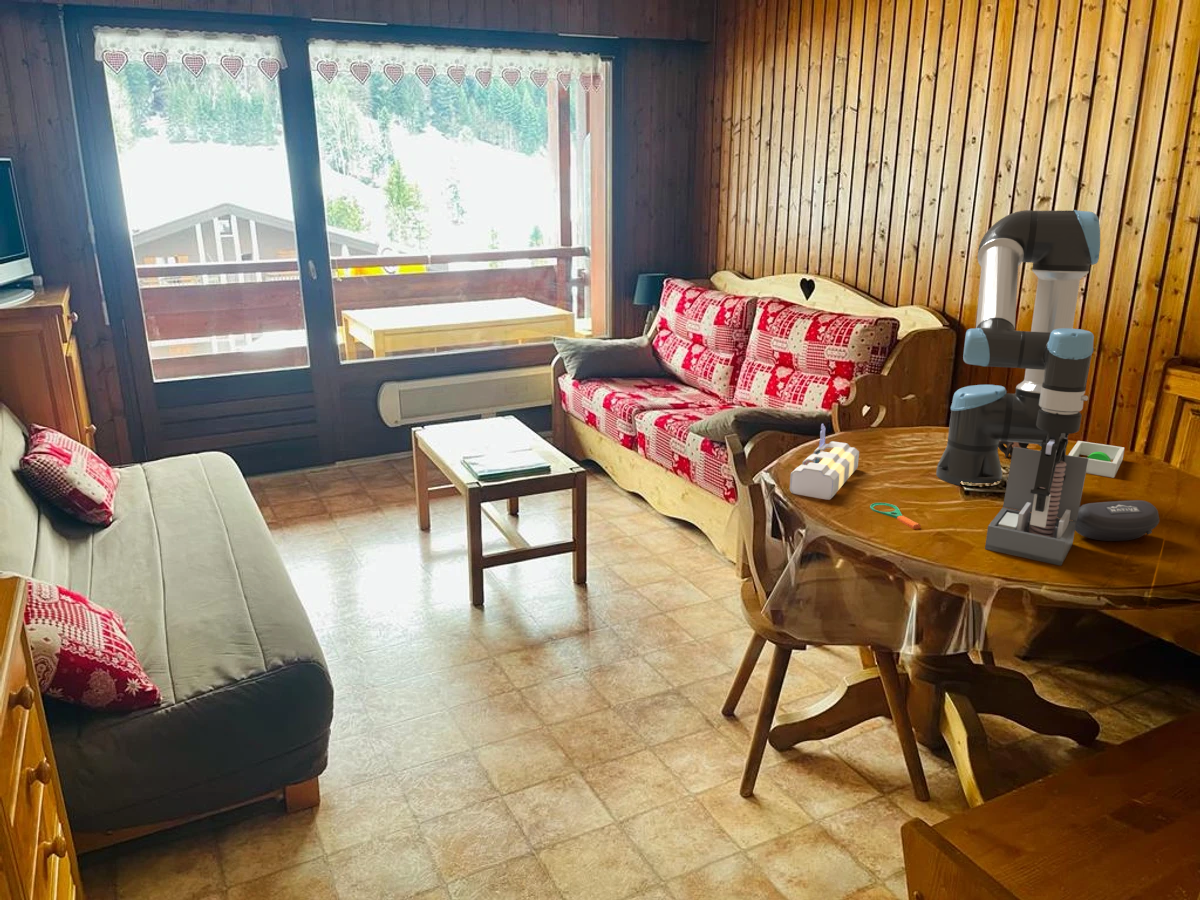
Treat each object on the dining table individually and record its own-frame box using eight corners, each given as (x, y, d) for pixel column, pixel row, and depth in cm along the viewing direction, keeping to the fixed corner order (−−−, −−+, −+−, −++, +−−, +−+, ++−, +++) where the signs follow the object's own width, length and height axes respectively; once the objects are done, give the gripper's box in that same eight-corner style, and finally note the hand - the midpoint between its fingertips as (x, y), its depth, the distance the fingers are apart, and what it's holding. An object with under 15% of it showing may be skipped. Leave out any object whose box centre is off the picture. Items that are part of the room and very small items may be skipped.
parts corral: (1064, 470, 223) (1067, 456, 222) (1075, 454, 236) (1078, 440, 235) (1113, 478, 217) (1116, 463, 216) (1122, 461, 230) (1124, 447, 229)
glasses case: (1087, 549, 176) (1093, 513, 174) (1054, 529, 186) (1060, 495, 184) (1167, 544, 178) (1174, 508, 176) (1130, 525, 188) (1137, 491, 186)
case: (984, 548, 176) (996, 465, 171) (1003, 524, 189) (1014, 446, 183) (1061, 565, 168) (1075, 478, 163) (1074, 539, 181) (1088, 457, 175)
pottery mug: (1042, 459, 233) (1052, 438, 227) (1034, 482, 228) (1044, 461, 222) (996, 443, 238) (1005, 422, 232) (987, 466, 233) (995, 445, 227)
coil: (1050, 539, 178) (1065, 456, 173) (1053, 548, 174) (1069, 463, 168) (1025, 536, 179) (1039, 453, 174) (1028, 545, 175) (1042, 460, 170)
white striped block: (817, 468, 228) (820, 420, 224) (857, 473, 223) (861, 424, 219) (789, 497, 207) (792, 444, 203) (832, 504, 202) (836, 450, 198)
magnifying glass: (864, 509, 199) (864, 502, 199) (886, 506, 201) (887, 499, 200) (904, 533, 185) (905, 526, 185) (928, 530, 187) (929, 522, 187)
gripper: (1071, 424, 156) (1053, 539, 163) (1091, 402, 174) (1073, 505, 180) (1026, 418, 161) (1010, 530, 167) (1049, 397, 178) (1034, 498, 184)
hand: (1043, 517), depth 174 cm, fingers open, 10 cm apart
